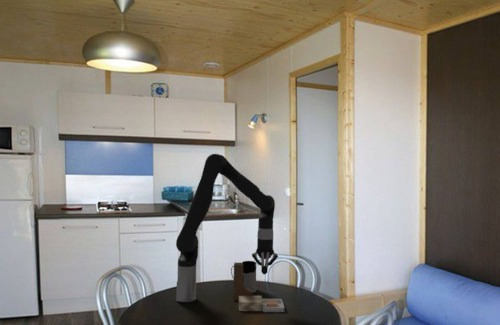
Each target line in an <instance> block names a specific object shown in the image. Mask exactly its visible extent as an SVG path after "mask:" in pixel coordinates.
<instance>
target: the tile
mask: <svg viewBox="0 0 500 325" xmlns="http://www.w3.org/2000/svg"><path fill="white" fill-rule="evenodd" d="M266 306H267V307H278V304H277V301H266Z"/></svg>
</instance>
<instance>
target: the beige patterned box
mask: <svg viewBox="0 0 500 325" xmlns="http://www.w3.org/2000/svg"><path fill="white" fill-rule="evenodd" d="M262 299H263V297H262V295H252V296H239V301H238V312H263V301H262Z"/></svg>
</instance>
